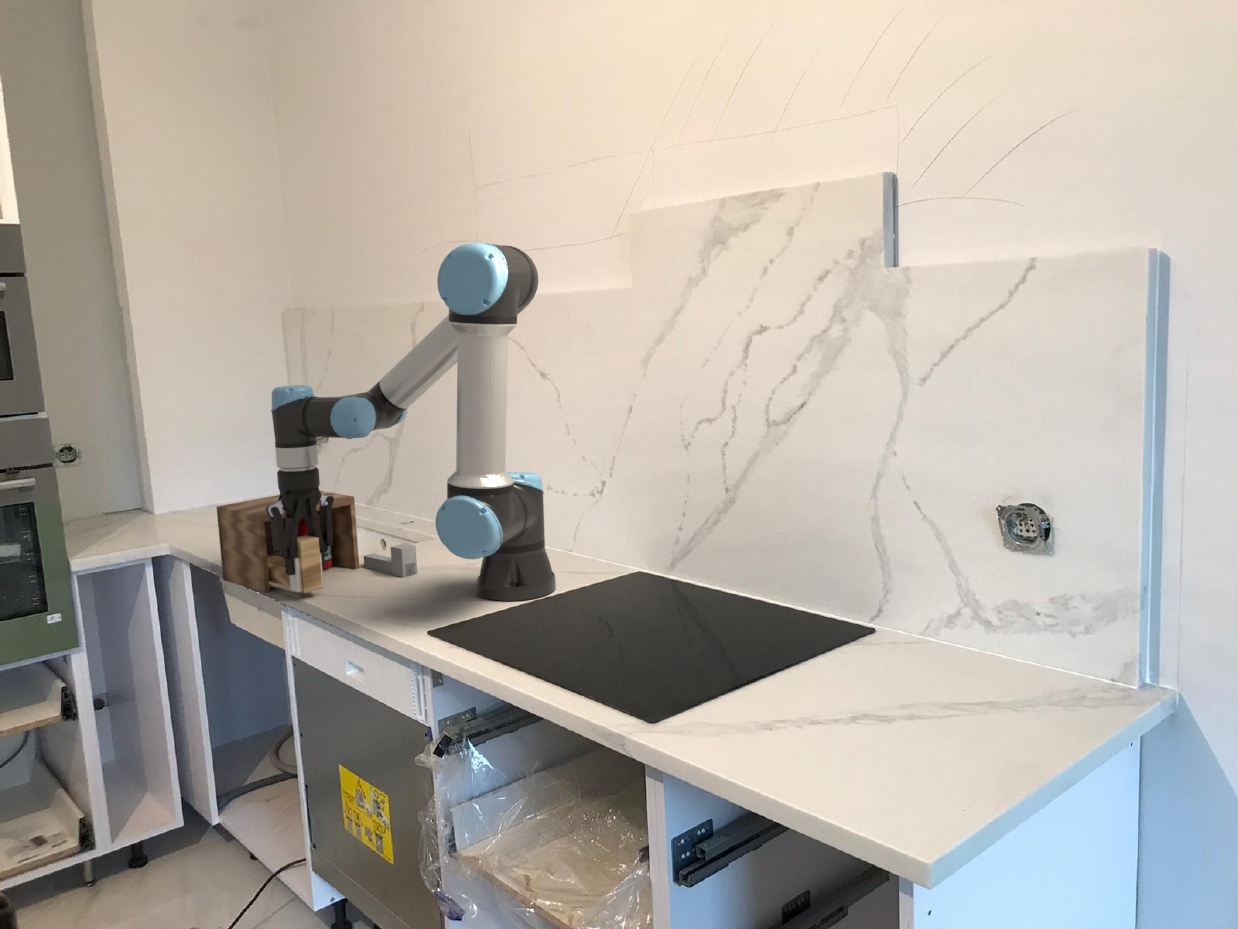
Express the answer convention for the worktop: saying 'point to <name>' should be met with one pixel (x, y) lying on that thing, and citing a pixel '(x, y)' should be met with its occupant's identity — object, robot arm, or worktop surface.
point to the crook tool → (308, 565)
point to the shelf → (252, 541)
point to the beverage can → (304, 531)
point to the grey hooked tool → (395, 561)
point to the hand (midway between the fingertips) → (307, 587)
